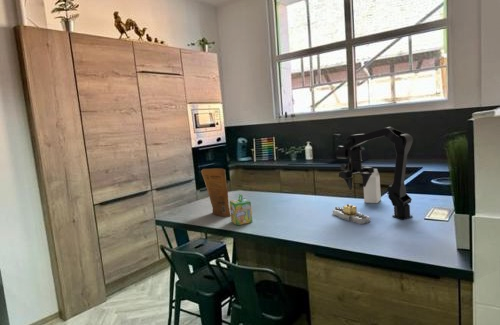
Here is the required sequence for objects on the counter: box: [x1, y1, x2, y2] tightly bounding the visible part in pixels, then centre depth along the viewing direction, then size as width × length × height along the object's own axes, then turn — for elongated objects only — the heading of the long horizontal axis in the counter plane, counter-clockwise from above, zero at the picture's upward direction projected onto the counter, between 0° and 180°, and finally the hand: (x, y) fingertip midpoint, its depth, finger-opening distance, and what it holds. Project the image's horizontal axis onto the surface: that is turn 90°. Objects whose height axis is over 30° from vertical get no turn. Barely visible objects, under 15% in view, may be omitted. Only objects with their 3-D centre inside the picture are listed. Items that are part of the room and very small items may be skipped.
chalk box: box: [229, 193, 253, 226], centre depth 178 cm, size 9×9×15 cm
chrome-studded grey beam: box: [332, 206, 371, 225], centre depth 167 cm, size 22×8×3 cm, turn 23°
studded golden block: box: [342, 203, 358, 216], centre depth 167 cm, size 5×4×7 cm
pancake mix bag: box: [200, 167, 231, 218], centre depth 195 cm, size 7×19×28 cm, turn 45°
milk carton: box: [362, 168, 382, 204], centre depth 191 cm, size 7×7×19 cm
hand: (357, 188), depth 176 cm, fingers open, 9 cm apart
